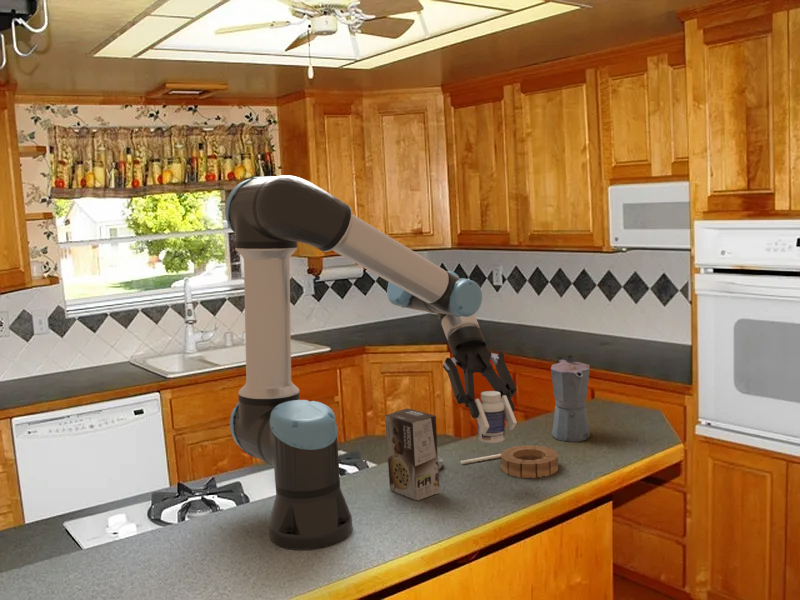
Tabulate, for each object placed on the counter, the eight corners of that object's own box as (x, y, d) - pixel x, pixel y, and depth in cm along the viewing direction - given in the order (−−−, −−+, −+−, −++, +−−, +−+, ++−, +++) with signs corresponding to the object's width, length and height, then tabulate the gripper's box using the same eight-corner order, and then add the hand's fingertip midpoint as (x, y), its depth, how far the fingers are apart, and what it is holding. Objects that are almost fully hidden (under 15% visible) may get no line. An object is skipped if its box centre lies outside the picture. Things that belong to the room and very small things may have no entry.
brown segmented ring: (517, 481, 171) (517, 467, 171) (492, 464, 182) (491, 450, 182) (568, 471, 175) (568, 458, 175) (540, 455, 186) (540, 442, 186)
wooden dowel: (462, 464, 183) (462, 461, 183) (460, 463, 183) (460, 460, 183) (526, 453, 188) (526, 450, 188) (525, 452, 189) (525, 449, 189)
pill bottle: (510, 440, 168) (509, 393, 167) (488, 445, 165) (487, 397, 164) (494, 434, 173) (493, 388, 171) (473, 438, 170) (472, 392, 169)
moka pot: (564, 448, 190) (562, 362, 188) (538, 429, 205) (536, 350, 202) (602, 442, 193) (601, 358, 190) (573, 424, 207) (572, 346, 205)
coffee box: (441, 492, 167) (437, 415, 165) (416, 501, 163) (412, 422, 161) (412, 481, 174) (408, 407, 172) (388, 489, 170) (383, 413, 168)
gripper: (496, 340, 184) (534, 431, 171) (419, 348, 178) (452, 443, 165) (507, 320, 178) (546, 412, 165) (428, 328, 172) (462, 424, 159)
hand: (499, 428), depth 165 cm, fingers closed on pill bottle, 5 cm apart
